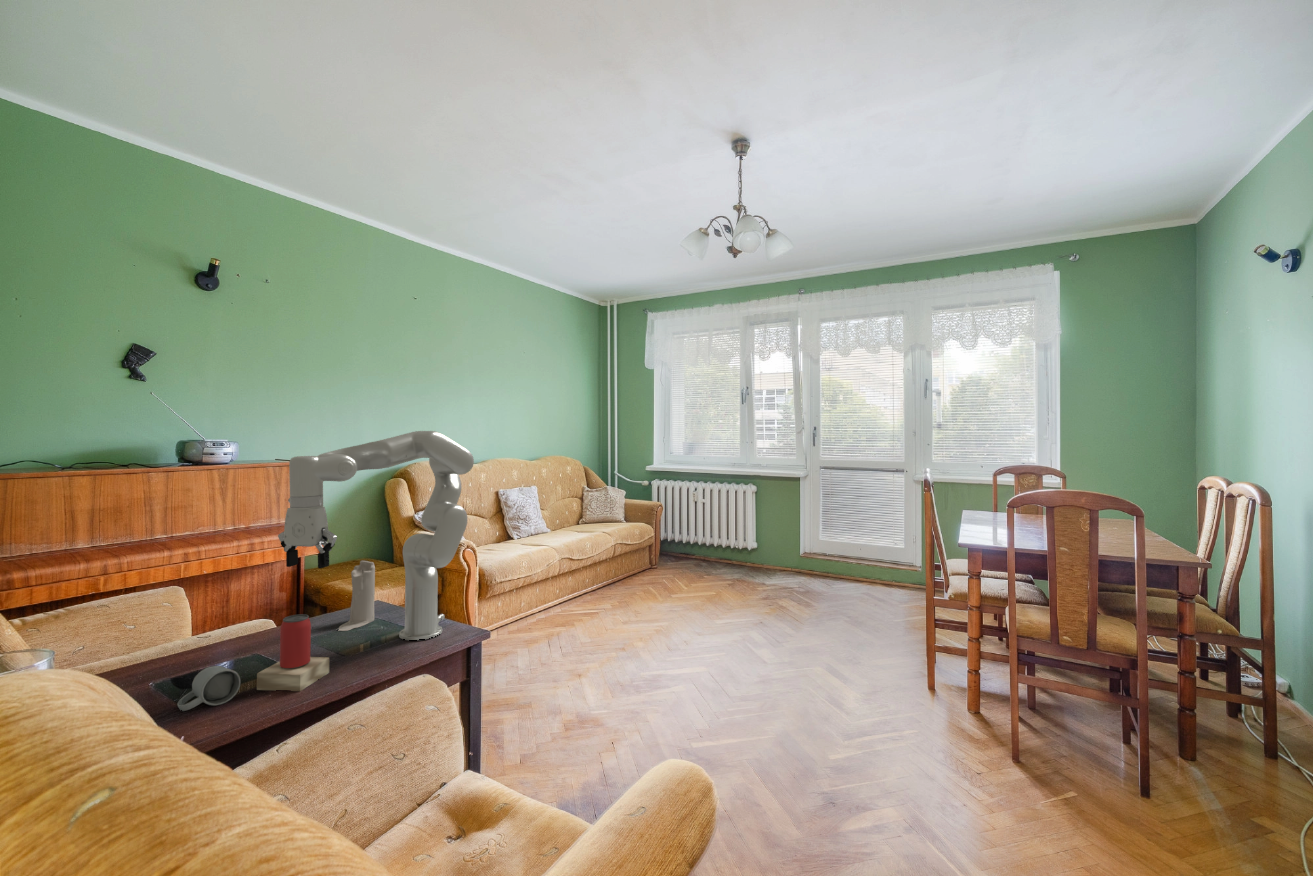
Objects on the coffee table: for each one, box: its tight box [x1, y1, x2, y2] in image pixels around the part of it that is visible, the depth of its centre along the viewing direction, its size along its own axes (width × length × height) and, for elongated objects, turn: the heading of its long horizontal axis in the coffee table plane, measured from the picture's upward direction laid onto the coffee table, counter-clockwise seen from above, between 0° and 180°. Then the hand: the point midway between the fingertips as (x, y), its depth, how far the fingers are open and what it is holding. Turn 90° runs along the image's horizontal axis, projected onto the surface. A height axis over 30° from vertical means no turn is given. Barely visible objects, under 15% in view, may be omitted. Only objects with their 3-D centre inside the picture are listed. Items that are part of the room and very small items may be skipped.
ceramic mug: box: [176, 665, 241, 712], centre depth 130 cm, size 11×8×8 cm
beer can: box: [279, 613, 312, 669], centre depth 142 cm, size 7×7×12 cm
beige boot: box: [337, 560, 376, 632], centre depth 185 cm, size 7×14×20 cm, turn 170°
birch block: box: [256, 656, 330, 692], centre depth 141 cm, size 11×11×4 cm
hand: (307, 566), depth 149 cm, fingers open, 9 cm apart
